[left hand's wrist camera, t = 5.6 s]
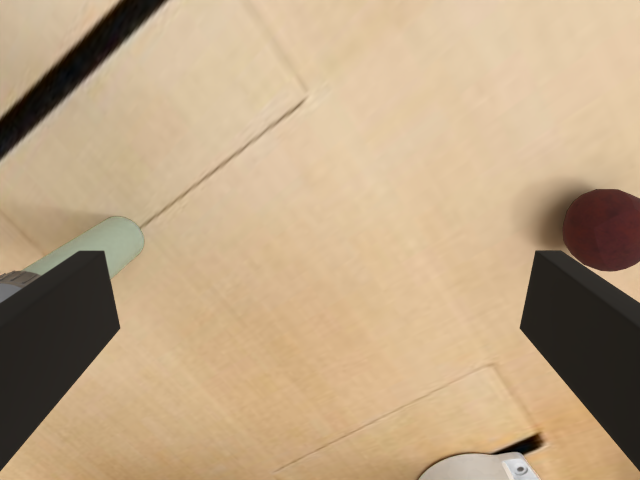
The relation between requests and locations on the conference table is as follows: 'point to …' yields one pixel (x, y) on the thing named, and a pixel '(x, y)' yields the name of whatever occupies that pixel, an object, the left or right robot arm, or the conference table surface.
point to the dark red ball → (604, 229)
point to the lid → (15, 282)
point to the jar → (99, 246)
